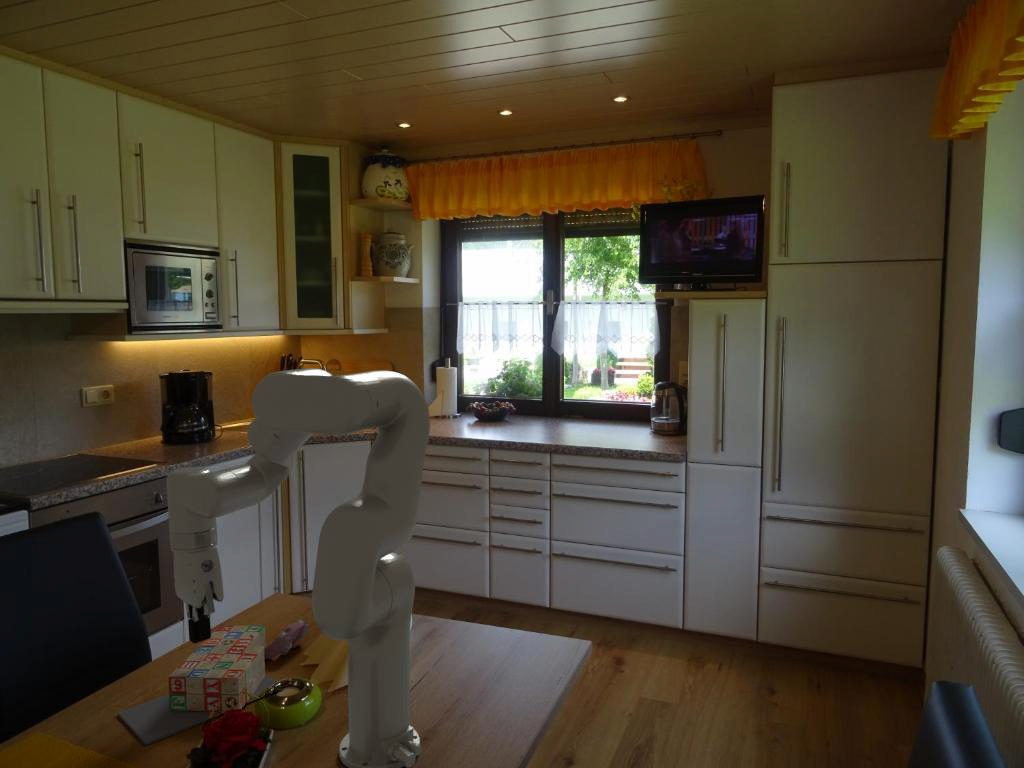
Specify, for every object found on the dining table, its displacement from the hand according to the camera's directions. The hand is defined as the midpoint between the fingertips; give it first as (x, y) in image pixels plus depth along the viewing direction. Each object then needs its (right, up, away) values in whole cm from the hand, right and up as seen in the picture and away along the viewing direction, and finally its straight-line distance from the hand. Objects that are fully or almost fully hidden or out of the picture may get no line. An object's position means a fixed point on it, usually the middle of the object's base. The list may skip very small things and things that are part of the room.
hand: (200, 639), depth 128 cm
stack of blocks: (-4, -7, +6) cm, 10 cm away
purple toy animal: (+9, -10, +20) cm, 24 cm away
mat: (+1, -11, 0) cm, 11 cm away
